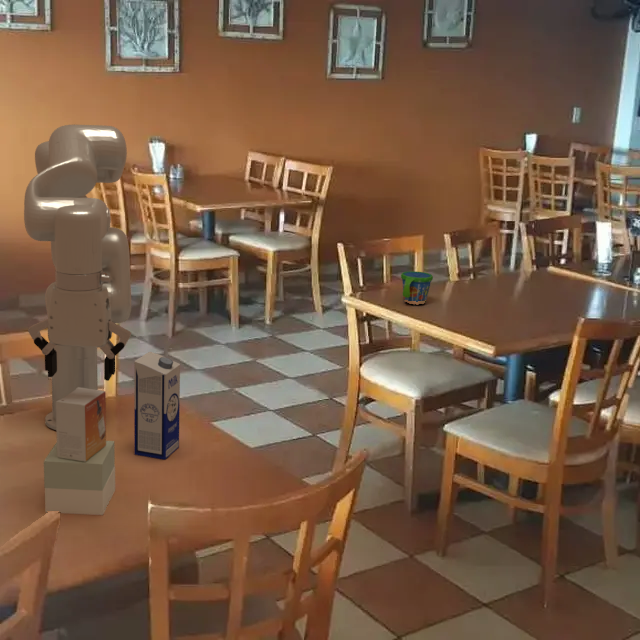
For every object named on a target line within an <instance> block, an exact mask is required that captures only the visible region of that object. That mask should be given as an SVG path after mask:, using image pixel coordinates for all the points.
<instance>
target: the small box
mask: <svg viewBox="0 0 640 640" xmlns="http://www.w3.org/2000/svg"><path fill="white" fill-rule="evenodd" d="M106 395H107V393H106V391H105V390H100V389H98V390H94V389H87V388H80V387H78V388H76V389H75V390H74V391H72V392H71V393H69V394H68V395H66V396H65V397H63V398H61V399H60V400H58V401H56V430H55V431H56V443H57V457H58V458H64V459H71V460H77V461H84V462H86V461H87V460H88V459H89V458H90V457H92V456H93V455H94V454H96V453H97V452H98V451H99V450H101V449H102V448H104V447H105V446H106V441H107V410H106V409H107V407H106V405H107V404H106V403H107V402H106V401H107V400H106V399H107V398H106Z"/></svg>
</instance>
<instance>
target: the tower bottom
mask: <svg viewBox="0 0 640 640" xmlns="http://www.w3.org/2000/svg"><path fill="white" fill-rule="evenodd" d="M115 492H116V466H115V467H114V469H113V471H112V473H111V475H110V477H109V479H108V481H107V483H106V485H105V487H104V489H103V491H98V490H76V489H55V488H44V503H45V504H44V508H45V510H44V511H45V513H48V512H47V511H59V512H61V513H60V514H70V515H72V514H73V515H92V516H104V514H105V512H106V510H107V508H108V506H109V503H110V502H109V501H111V500H112V498H113V495H114V493H115ZM107 505H108V506H107ZM106 507H107V508H106Z"/></svg>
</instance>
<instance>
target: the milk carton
mask: <svg viewBox="0 0 640 640" xmlns="http://www.w3.org/2000/svg"><path fill="white" fill-rule="evenodd" d="M133 362H134V366H133V367H134V374H133V375H134V379H133V380H134V381H133V382H134V384H133V385H134V386H133V387H134V413H133V414H134V418H133V419H134V423H133V424H134V431H133V432H134V436H133V437H134V439H133V440H134V445H133V447H134V449H133V450H134V451H133V453H134V455H135V456H141V457H146V458H151V459H157V460H163V461H165V460H166V459H168V458H169V457H170V456H171V455H172V454H173V453H175V452H176V451H177V449H179V448H180V401H181V400H180V397H181V396H180V395H181V394H180V393H181V392H180V391H181V363H178V362H177V361H174V360H172V358H171V359H170V358H168V357H165V356H163V355H161V354H159V353H156V352H152V351H148V352H146V353H145V354H143V355H142V356H140V357H138V358H137V359H135V360H134V361H133Z"/></svg>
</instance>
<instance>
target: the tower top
mask: <svg viewBox="0 0 640 640" xmlns="http://www.w3.org/2000/svg"><path fill="white" fill-rule="evenodd" d="M115 452H116V451H115V441H114V440H106V446H105V447H104V448H102V449H101V450H99V451H98V452H97V453H96V454H94V455H93V456H92V457H90V458H89V459H88V460H87V461H86V462H84V461H77V460H71V459H64V458H58V457H57V442H56V443H54V446H53V447H52V449H51V450H50V452H49V453H48V455H47V456H46V457H45V459H44V460H43V478H44V479H43V482H44V484H43V486H44V489H45V488H55V489H76V490H98V491H103V489H104V487H105V485H106V483H107V481H108V479H109V477H110V475H111V473H112V471H113V469H114V467H115V468H116V466H115V463H116V462H115V460H116V459H115Z"/></svg>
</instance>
